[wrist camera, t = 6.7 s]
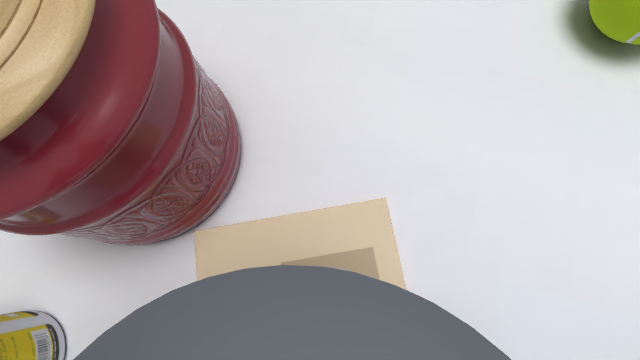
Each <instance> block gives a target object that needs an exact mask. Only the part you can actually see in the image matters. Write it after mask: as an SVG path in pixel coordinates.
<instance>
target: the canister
mask: <svg viewBox="0 0 640 360" xmlns="http://www.w3.org/2000/svg"><path fill="white" fill-rule="evenodd" d="M240 153H241V143H240V135H239V130H238V125H237V121H236V118H235V115H234V112H233V110H232V108H231V105H230V104H229V102H228V100H227V99H226V97H225V96H224V94H223V93H222V91H221V90H220V88H219V87H218V86H217V85H216V84H215V83H214V82H213V81H212V80H211V79H210V78H209V77H208V76H207V75H206V73H205V72H204V70H203V69H202V68H201V66H200V65H199V63H198V62H197V61H196V59H195V58H194V56H193V55H192V52H191V50H190V47H189V45H188V43H187V41H186V39H185V37H184V35H183V34H182V32H181V31H180V30H179V28H178V27H177V26H176V24H175V23H174V22H173V21H172V20H171V19H170V18H169V17H168V16H167V15H166V14H165V13H163V12H162V11H161V10H160V9H158V8H157V6H156V3H155V0H0V230H2V231H5V232H9V233H15V234H22V235H52V234H60V235H69V236H78V237H87V238H93V239H95V240H98V241H102V242H107V243H113V244H125V245H140V244H148V243H153V242H158V241H161V240H165V239H169V238H172V237H175V236H178V235H180V234H182V233H185V232H187V231H189V230H190V229H192V228H194V227H195V226H197V225H198V224H200V223H201V222H202V221H204V220H205V219H206V218H207V217H208V216H210V215H211V214H212V213H213V212H214V211H215V210H216V208H217V207H218V206H219V205H220V204H221V202H222V201H223V200H224V198H225V197H226V195H227V194H228V192H229V190H230V188H231V186H232V184H233V182H234V180H235V177H236V174H237V171H238V167H239V162H240Z"/></svg>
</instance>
